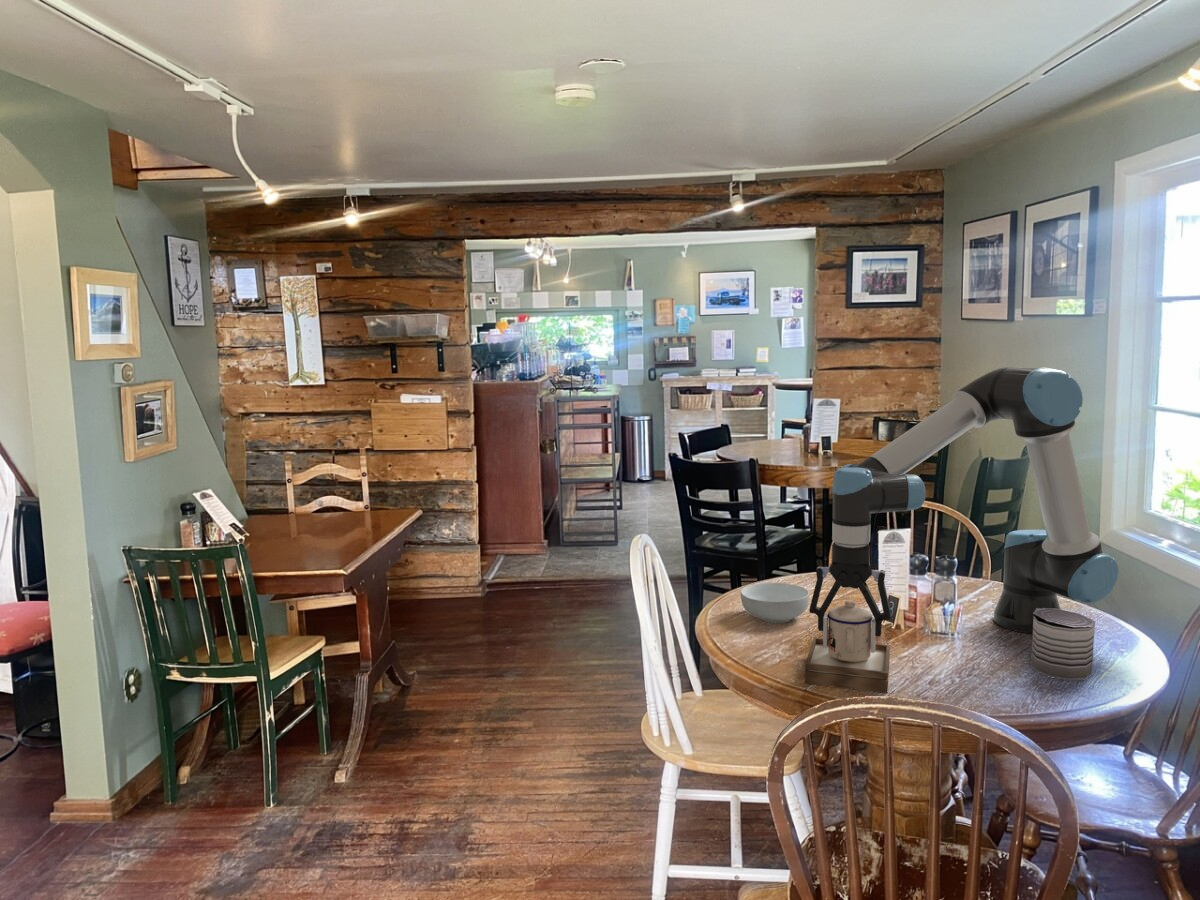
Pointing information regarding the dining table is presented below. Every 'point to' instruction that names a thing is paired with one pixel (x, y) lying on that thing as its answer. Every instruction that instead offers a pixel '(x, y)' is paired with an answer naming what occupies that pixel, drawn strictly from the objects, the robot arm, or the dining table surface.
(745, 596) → the cereal bowl
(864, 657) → the teacup with lid
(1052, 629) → the can
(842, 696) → the dining table surface
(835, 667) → the wooden box
